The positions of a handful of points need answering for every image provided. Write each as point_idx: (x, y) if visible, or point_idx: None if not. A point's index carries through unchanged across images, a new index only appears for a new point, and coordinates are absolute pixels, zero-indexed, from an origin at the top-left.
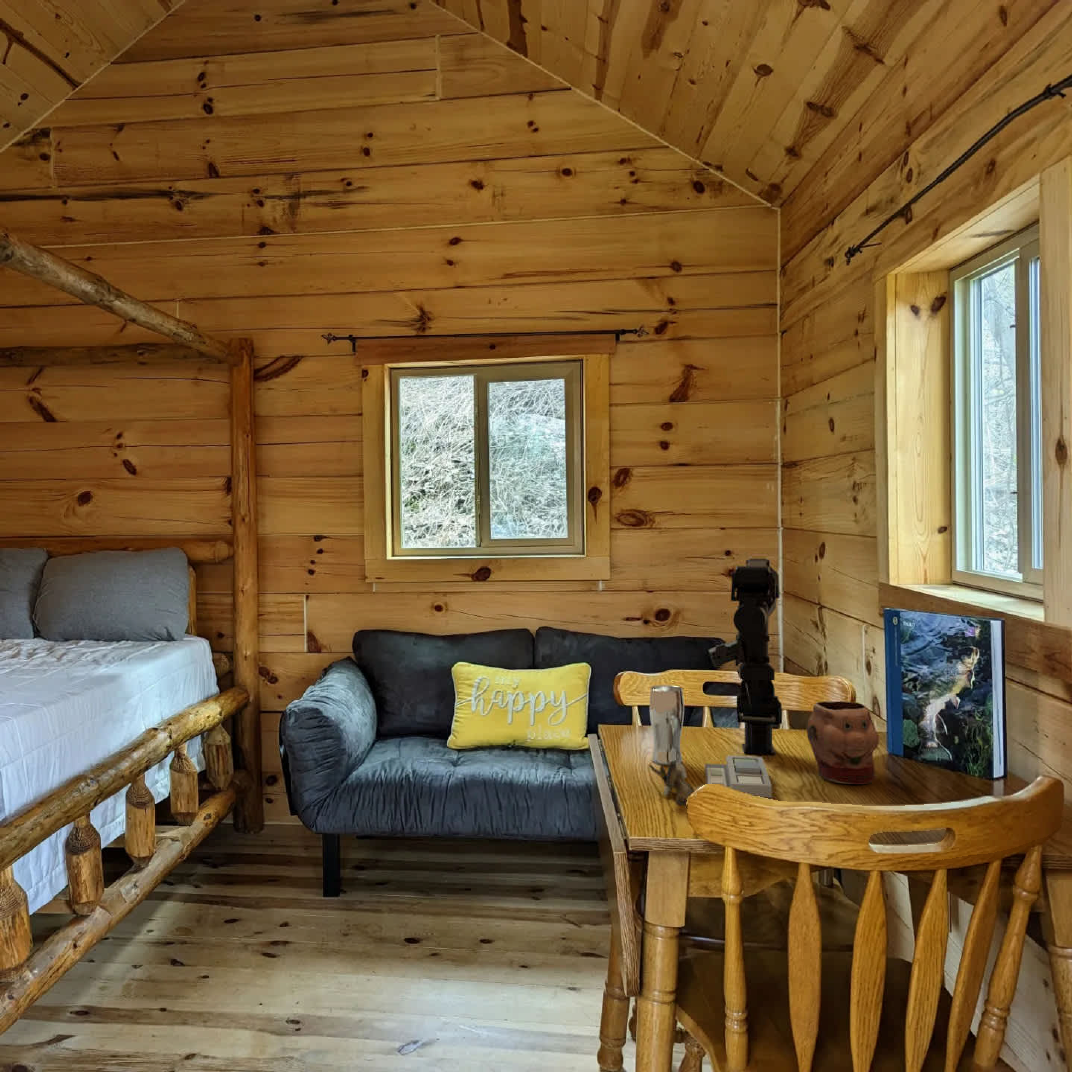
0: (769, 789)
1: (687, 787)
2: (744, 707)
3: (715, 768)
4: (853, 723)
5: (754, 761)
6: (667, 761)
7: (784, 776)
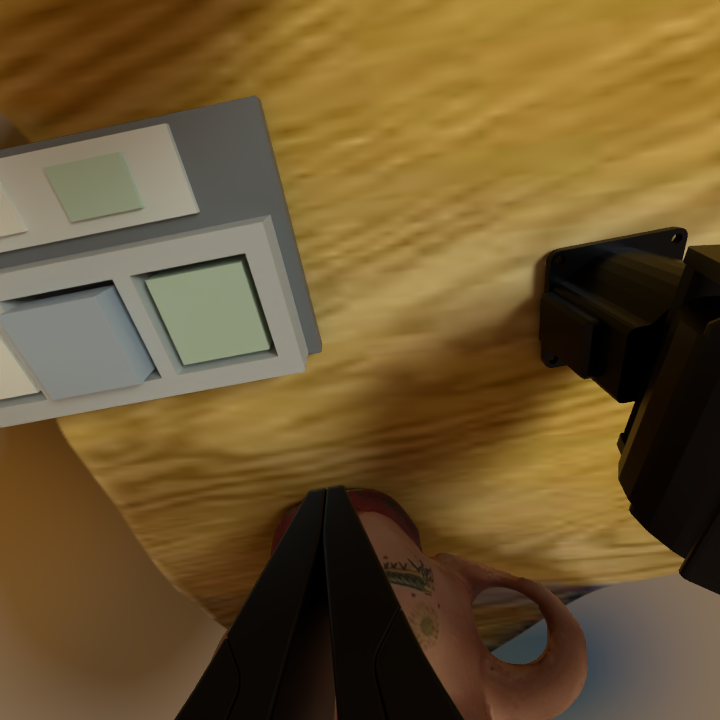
0: None
1: None
2: (688, 349)
3: (171, 172)
4: None
5: (243, 348)
6: None
7: (297, 408)
